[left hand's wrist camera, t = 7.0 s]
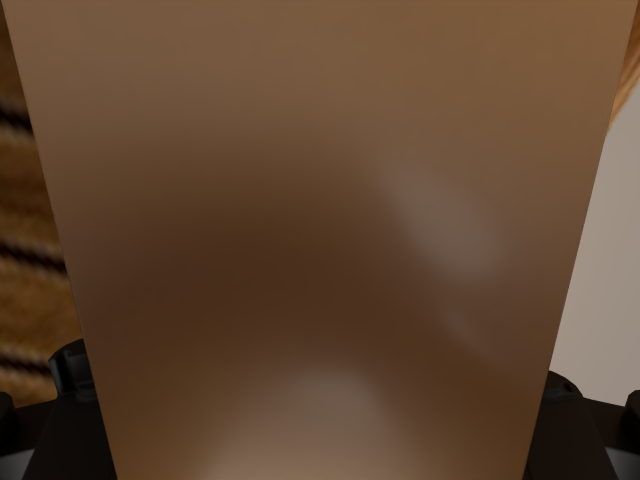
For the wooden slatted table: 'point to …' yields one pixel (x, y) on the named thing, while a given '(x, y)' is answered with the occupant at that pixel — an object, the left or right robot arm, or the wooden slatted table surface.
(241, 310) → the bar
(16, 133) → the wooden slatted table surface
